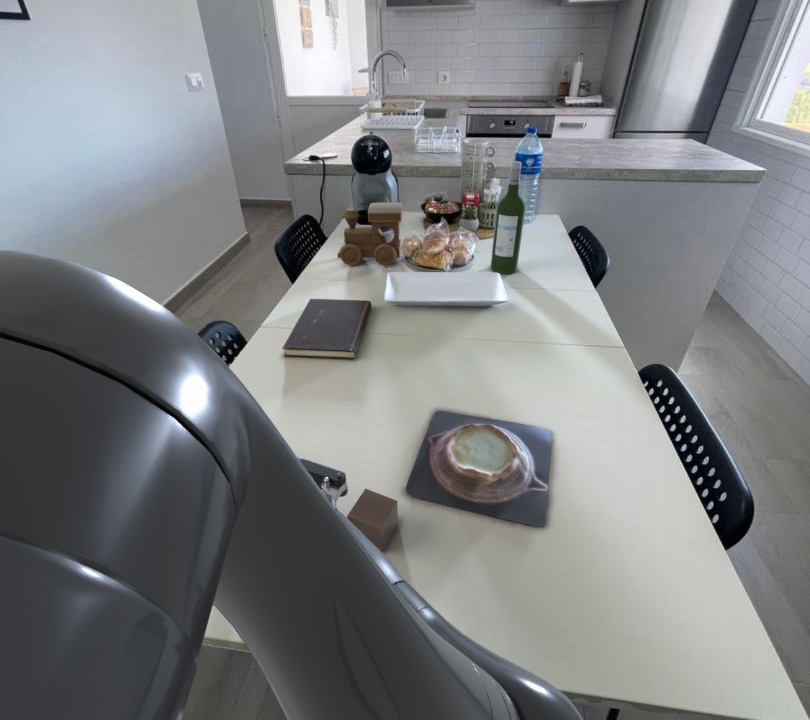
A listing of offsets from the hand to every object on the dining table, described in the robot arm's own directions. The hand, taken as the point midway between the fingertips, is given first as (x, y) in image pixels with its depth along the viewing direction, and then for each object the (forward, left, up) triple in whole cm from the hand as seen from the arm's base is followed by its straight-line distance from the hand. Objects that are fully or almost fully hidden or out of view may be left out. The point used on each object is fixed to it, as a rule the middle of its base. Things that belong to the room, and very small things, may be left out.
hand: (240, 466), depth 47 cm
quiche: (+34, -8, -20) cm, 40 cm away
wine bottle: (+99, +34, -20) cm, 107 cm away
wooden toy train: (+76, +68, -20) cm, 104 cm away
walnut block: (+13, -5, -20) cm, 24 cm away
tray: (+73, +35, -20) cm, 84 cm away
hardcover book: (+41, +43, -20) cm, 63 cm away
